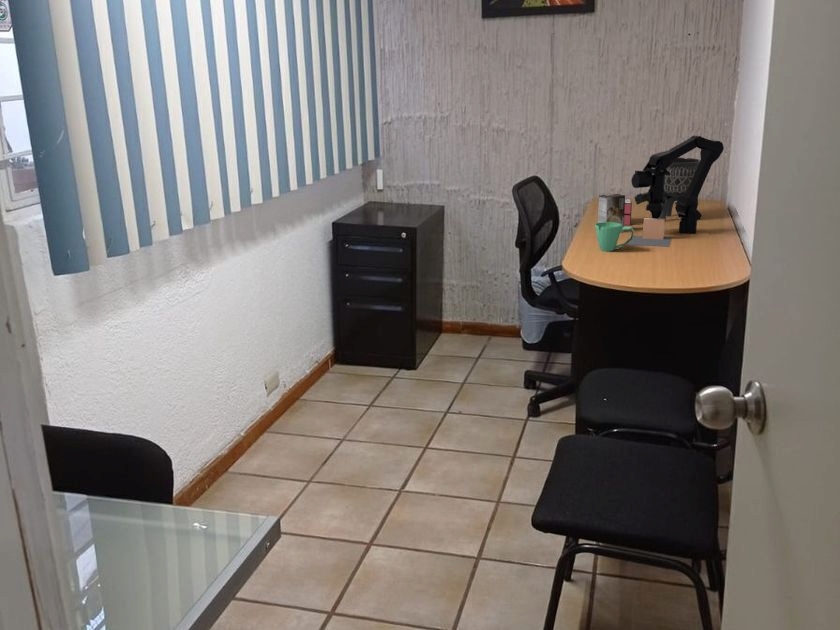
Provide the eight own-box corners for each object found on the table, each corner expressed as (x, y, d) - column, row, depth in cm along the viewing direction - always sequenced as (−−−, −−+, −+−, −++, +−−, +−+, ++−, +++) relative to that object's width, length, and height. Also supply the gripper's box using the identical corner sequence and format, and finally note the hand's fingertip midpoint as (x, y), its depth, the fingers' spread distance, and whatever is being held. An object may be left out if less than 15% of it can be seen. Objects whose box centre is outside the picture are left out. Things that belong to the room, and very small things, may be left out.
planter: (700, 216, 371) (705, 158, 363) (692, 224, 355) (697, 163, 347) (656, 214, 380) (660, 156, 372) (647, 221, 364) (650, 162, 356)
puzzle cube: (630, 225, 357) (631, 203, 354) (607, 225, 359) (608, 202, 356) (629, 221, 366) (631, 199, 363) (607, 221, 368) (608, 199, 365)
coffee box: (615, 230, 347) (616, 193, 343) (624, 233, 342) (626, 195, 337) (596, 232, 344) (598, 195, 339) (605, 235, 338) (607, 197, 334)
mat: (671, 238, 329) (671, 237, 329) (669, 248, 313) (669, 246, 313) (631, 236, 335) (631, 235, 334) (626, 246, 318) (626, 244, 318)
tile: (663, 238, 328) (664, 218, 325) (663, 239, 326) (664, 219, 323) (643, 237, 330) (644, 218, 328) (642, 238, 328) (643, 219, 326)
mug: (592, 252, 311) (593, 226, 308) (596, 246, 319) (597, 221, 316) (632, 254, 306) (633, 228, 303) (634, 248, 315) (635, 223, 312)
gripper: (638, 182, 339) (636, 219, 343) (634, 189, 322) (632, 228, 327) (666, 183, 335) (664, 220, 340) (663, 190, 318) (660, 229, 323)
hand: (654, 224), depth 332 cm, fingers closed
